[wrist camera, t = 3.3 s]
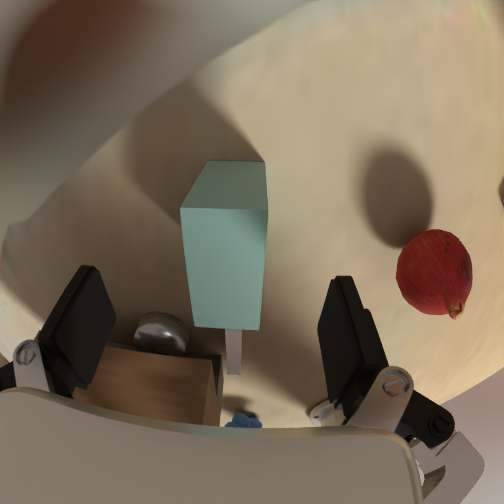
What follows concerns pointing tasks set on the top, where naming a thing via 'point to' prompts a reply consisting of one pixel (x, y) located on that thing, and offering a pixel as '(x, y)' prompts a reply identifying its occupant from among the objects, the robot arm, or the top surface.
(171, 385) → the cabinet
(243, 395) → the top surface
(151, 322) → the grey flat rounded lump
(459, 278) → the onion
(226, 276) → the sage green block
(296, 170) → the top surface
